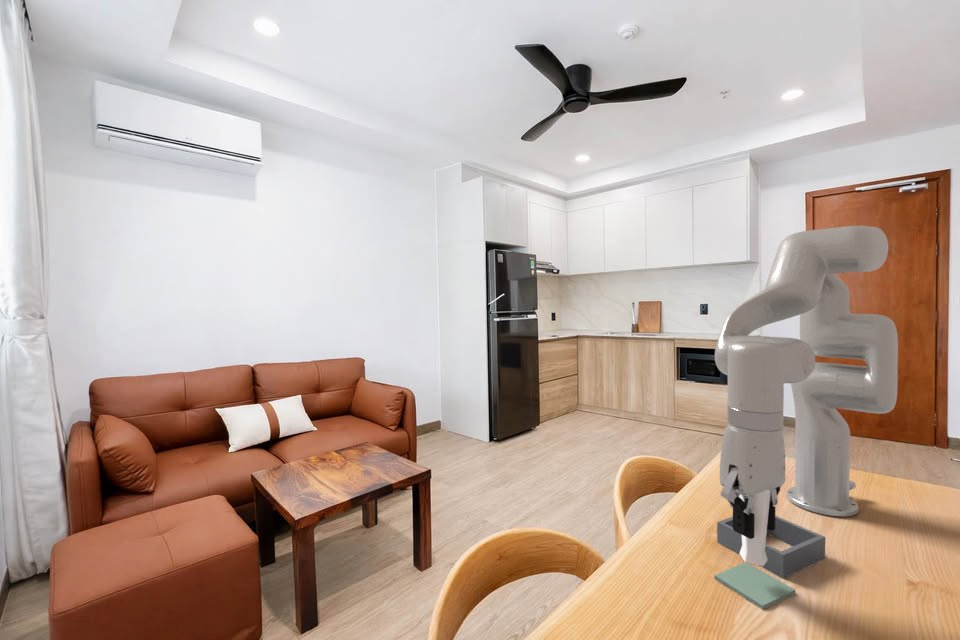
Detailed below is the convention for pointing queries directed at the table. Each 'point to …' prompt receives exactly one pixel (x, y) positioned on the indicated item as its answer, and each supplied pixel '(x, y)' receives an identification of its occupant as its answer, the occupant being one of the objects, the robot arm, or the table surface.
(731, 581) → the mat
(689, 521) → the table surface
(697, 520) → the table surface
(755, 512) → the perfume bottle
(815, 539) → the bin
